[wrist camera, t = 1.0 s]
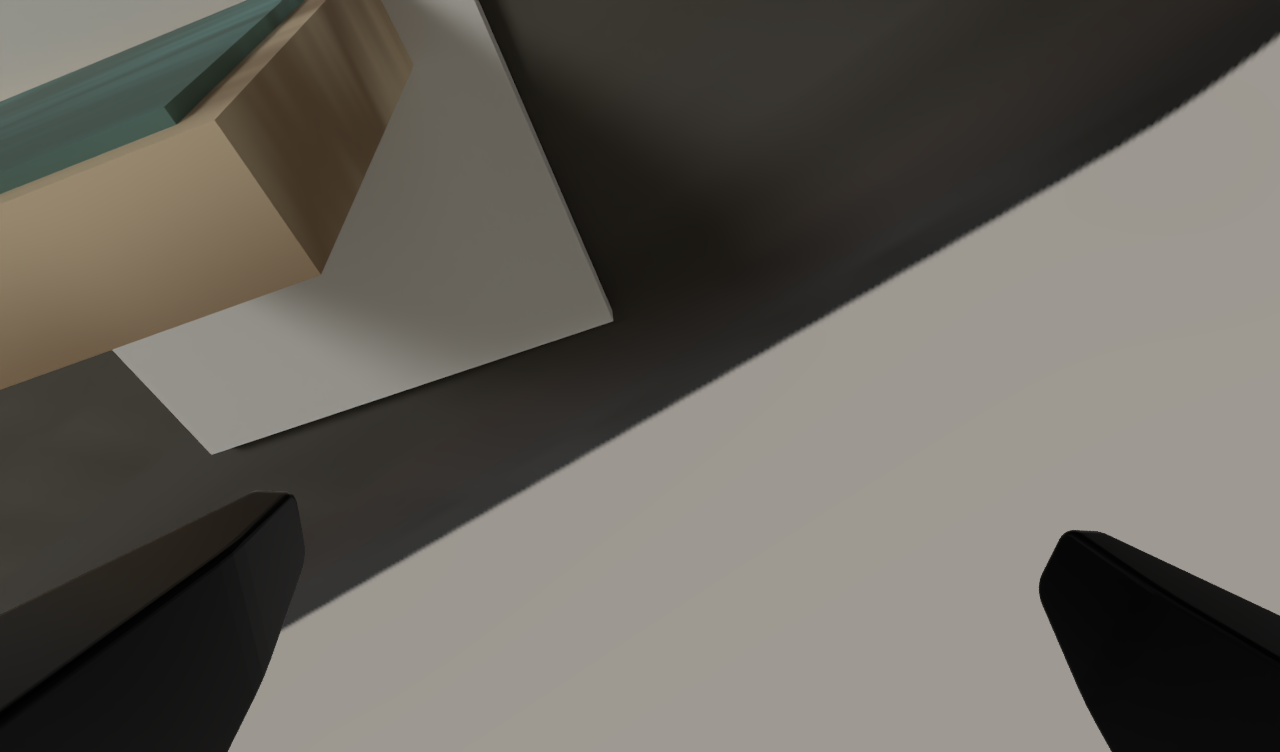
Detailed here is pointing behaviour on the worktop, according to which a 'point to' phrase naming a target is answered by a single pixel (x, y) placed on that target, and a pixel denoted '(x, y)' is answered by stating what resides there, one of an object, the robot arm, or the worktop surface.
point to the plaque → (186, 174)
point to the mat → (363, 233)
